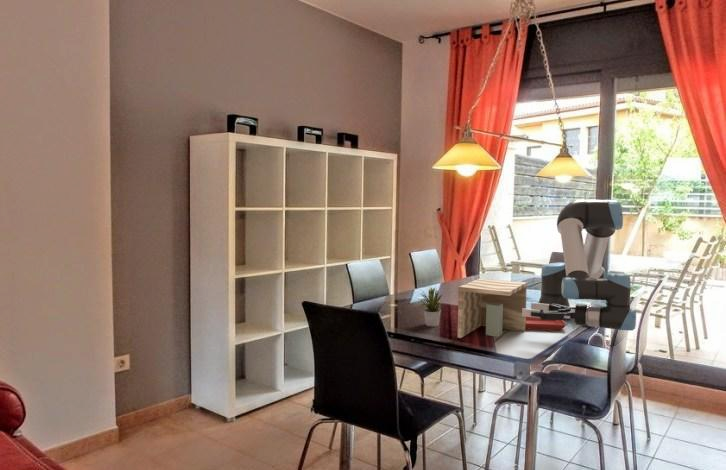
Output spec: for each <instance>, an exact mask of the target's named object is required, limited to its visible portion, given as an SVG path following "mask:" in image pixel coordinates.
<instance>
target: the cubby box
mask: <svg viewBox="0 0 726 470" xmlns="http://www.w3.org/2000/svg"><path fill="white" fill-rule="evenodd" d="M527 283H528V282H525V281H512V280H500V279H491V278H490V279H488V278H478V279H475V280H472V281H470V282H467V283H465V284H463V285H459V286H458V291H457V292H458V293H457V296H458V298H457V303H458V304H457V338H459V339H462V338H464V337H465V336H467V335H468V334H470V333H471V332H473V331H475V330H476V329H478V328H480V327H486V304H488V303H490V302H492V303H501V304H503V324H502V330H511V331H519V332H526V330H527V329H526V316H522V309H527Z"/></svg>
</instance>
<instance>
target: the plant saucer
mask: <svg viewBox="0 0 726 470" xmlns="http://www.w3.org/2000/svg"><path fill="white" fill-rule="evenodd" d="M566 326H567V323H566V322H565V320H541V318H535V317H526V329H525V330H532V331H534V330H535V331H537V330H539V331H557V332H559V331H562V330H563V329H565V327H566Z"/></svg>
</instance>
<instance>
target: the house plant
mask: <svg viewBox="0 0 726 470" xmlns="http://www.w3.org/2000/svg"><path fill="white" fill-rule="evenodd" d="M418 295H420V296H423V299H419V298H418V300H420V301H418V303H421V306H424V307H425V309H423V313H424V314H423V315H424V321H425V322H424V323H425V326H427V327H438V326H439V322H440V317H441V309H439V308H440V307H443V305H441V302H443V300H441V301H440V299H441V297H442V296H444V293H442V294H441V295H439V290H437V289H436V287H434V288H432V287H431V286H430V288H429V289H428V296H427V295H426V293H425V291H423V290H422V289H420V294H418ZM418 303H417V304H418Z"/></svg>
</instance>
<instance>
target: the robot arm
mask: <svg viewBox="0 0 726 470" xmlns="http://www.w3.org/2000/svg"><path fill="white" fill-rule="evenodd" d="M623 215H624V214H623V208H622V204H621V202H620V201H619V200H615V199H614V200H613V199H577V200H574V201H572V202H569V203H568V204H566V205H565V206H564V207H563V208H562V209H561V211H560V213H559V214H558V217H557V220H556V228H557V231H558V233H559V235H560V238H561V246H562V253H563V260H564V262H552V263H551V262H550V263H546V264H543V266H542V267H541V273H540V277H541V280H540V281H541V282H540V297H539V300H538V302H530V308H526V309H522V316H526V317H535V318H541V320H563V321H568V322H570V321H571V319H573V320H574V324H575V325H576V326H583V327H584V326H587V327H594V329H598V328H603V329H610V330H617V331H618V330H619V331H634V330H635V329H636V326H637V310H636V309H634V308H631V306H630V305H631V290H632V287H631V285H632V284H631V276H630V275H629V274H627V273H621V272H608V273H607V272H606V270H605V268H604V266H602V263H603V260H604V256H605V252H606V249H607V245H608V243H609V239H610V238H611V236H613V235H615V233H616V231H618V230H621V229H623V225H624V216H623ZM583 230H585V231H586V236H585V239H584V238H583ZM606 273H607V274H606ZM569 300H574V301H575V300H586V301H587V300H591V301H592V300H593V301H605V306H604V305H597V304H595V305H593V304H589V305H588V304H582V303H577V304H576V305H575V306H571V305H570V301H569Z"/></svg>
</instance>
